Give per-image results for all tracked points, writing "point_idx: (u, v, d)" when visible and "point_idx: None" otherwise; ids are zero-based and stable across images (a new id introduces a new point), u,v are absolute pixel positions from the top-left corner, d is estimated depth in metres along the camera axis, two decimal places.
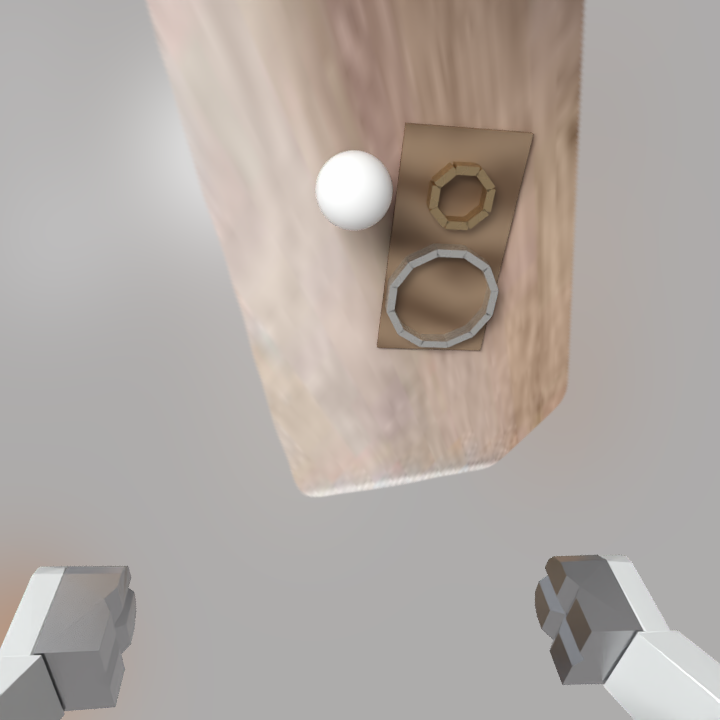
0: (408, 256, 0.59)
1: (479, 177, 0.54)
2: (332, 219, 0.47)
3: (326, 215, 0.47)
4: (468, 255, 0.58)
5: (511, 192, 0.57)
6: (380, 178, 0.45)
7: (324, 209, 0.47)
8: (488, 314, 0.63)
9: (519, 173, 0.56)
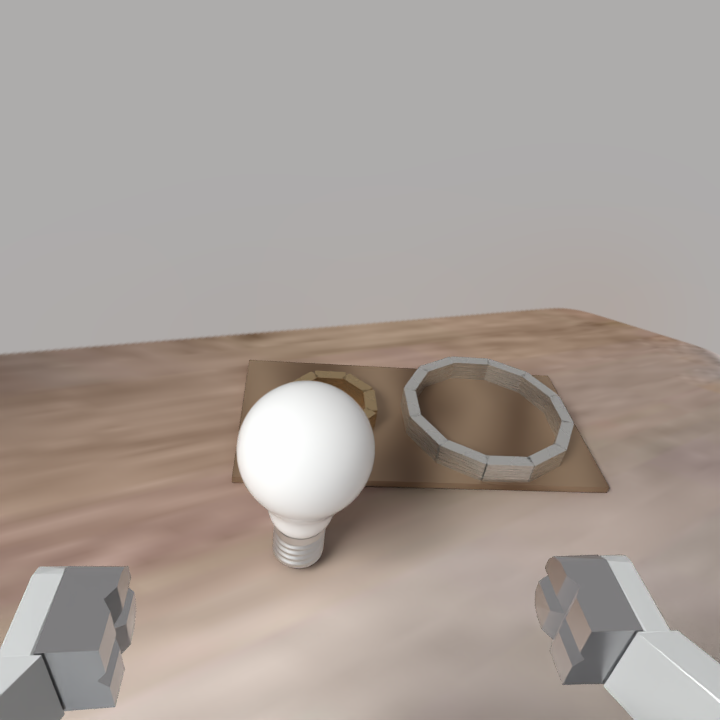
0: (434, 457, 0.38)
1: None
2: (352, 448, 0.25)
3: (347, 462, 0.24)
4: (410, 386, 0.41)
5: (322, 369, 0.44)
6: None
7: (334, 462, 0.24)
8: (487, 361, 0.45)
9: (297, 365, 0.44)
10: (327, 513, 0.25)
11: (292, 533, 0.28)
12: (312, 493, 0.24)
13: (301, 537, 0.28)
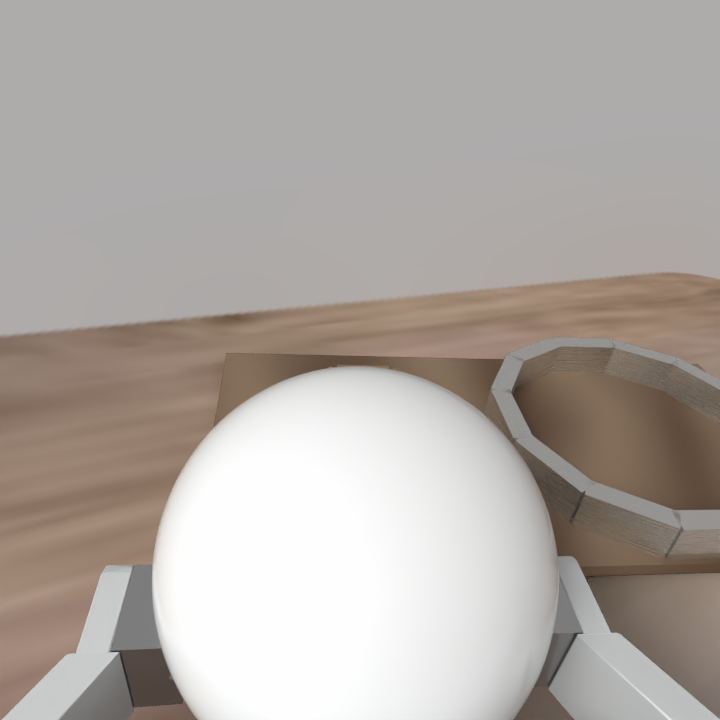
0: (567, 514, 0.20)
1: None
2: (524, 579, 0.07)
3: (515, 631, 0.07)
4: (500, 385, 0.24)
5: (346, 364, 0.27)
6: None
7: (478, 643, 0.07)
8: (612, 343, 0.28)
9: (306, 359, 0.27)
10: None
11: None
12: None
13: None
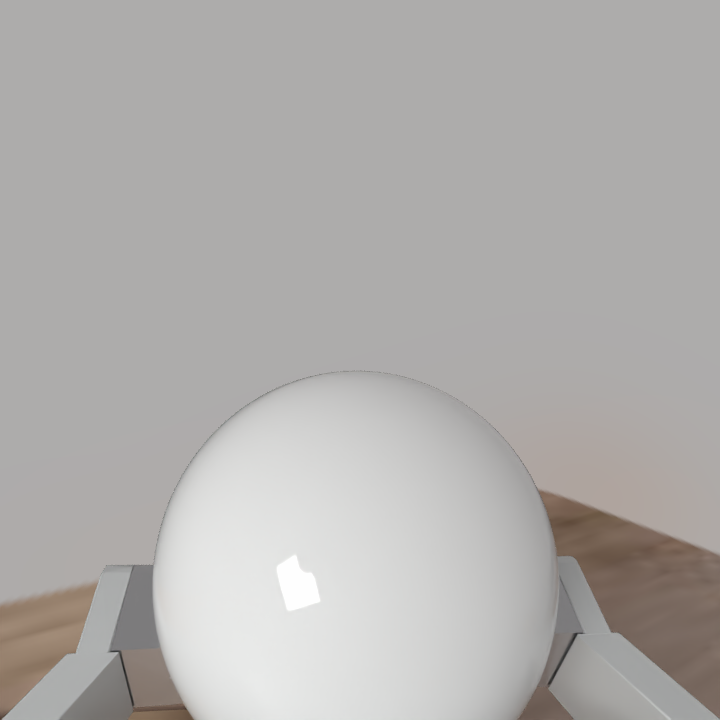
0: None
1: None
2: (524, 585, 0.07)
3: (516, 638, 0.07)
4: None
5: None
6: None
7: (478, 650, 0.07)
8: None
9: None
10: None
11: None
12: None
13: None
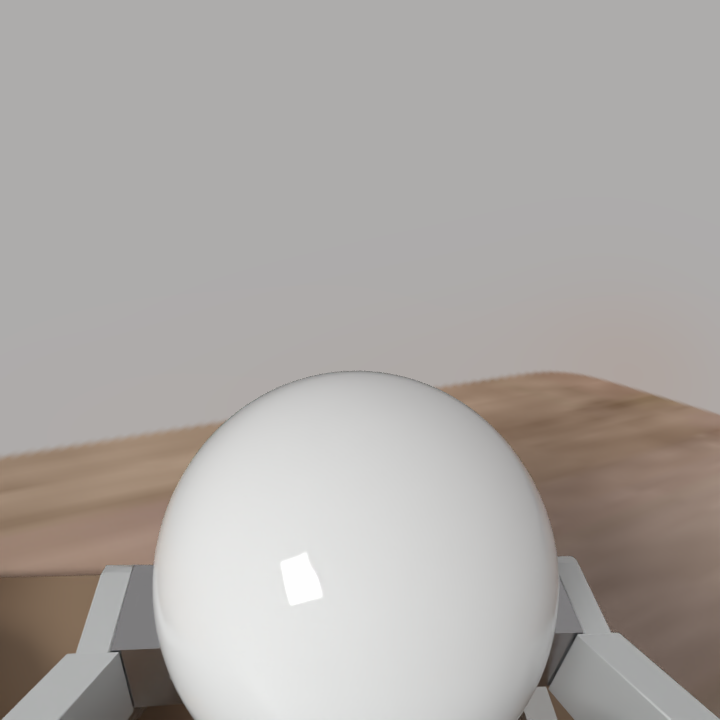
0: None
1: None
2: (525, 585, 0.07)
3: (516, 638, 0.07)
4: None
5: None
6: None
7: (479, 650, 0.07)
8: None
9: None
10: None
11: None
12: None
13: None
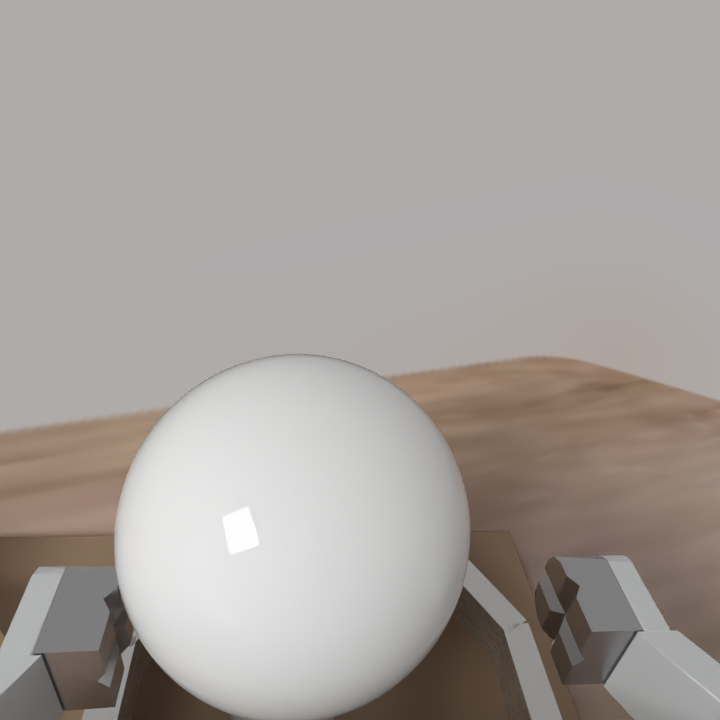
0: None
1: None
2: (429, 536, 0.09)
3: (418, 579, 0.08)
4: None
5: None
6: None
7: (383, 587, 0.08)
8: None
9: None
10: (357, 708, 0.09)
11: None
12: (318, 680, 0.08)
13: None
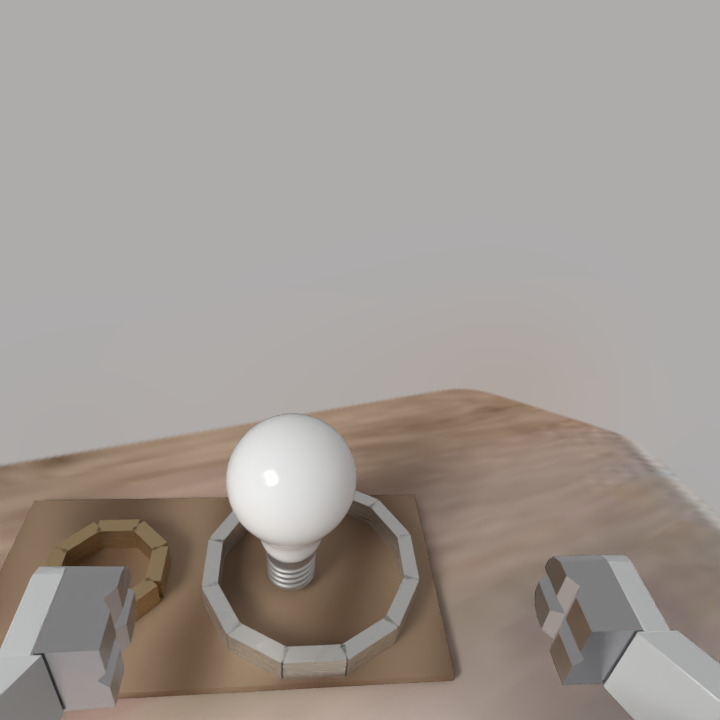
0: (226, 645, 0.29)
1: (71, 546, 0.32)
2: (333, 476, 0.26)
3: (329, 490, 0.26)
4: (218, 535, 0.33)
5: (125, 508, 0.36)
6: None
7: (317, 491, 0.26)
8: None
9: (95, 504, 0.36)
10: (313, 538, 0.27)
11: (283, 558, 0.29)
12: (297, 521, 0.26)
13: (292, 561, 0.30)
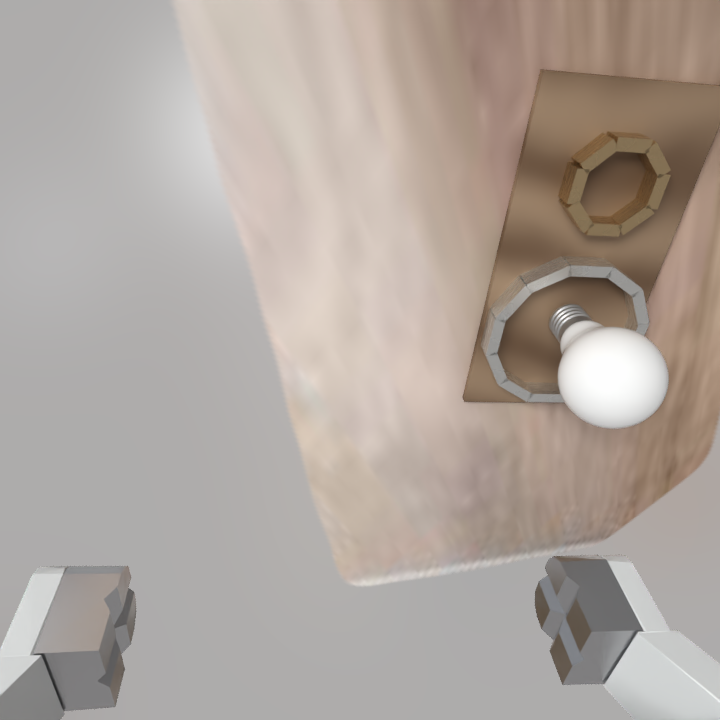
0: (523, 275, 0.40)
1: (649, 155, 0.35)
2: (588, 419, 0.36)
3: (579, 413, 0.36)
4: (614, 274, 0.39)
5: (685, 180, 0.38)
6: (664, 373, 0.34)
7: (579, 407, 0.35)
8: None
9: (702, 151, 0.37)
10: None
11: (563, 337, 0.39)
12: (565, 385, 0.36)
13: (560, 340, 0.40)
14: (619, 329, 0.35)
